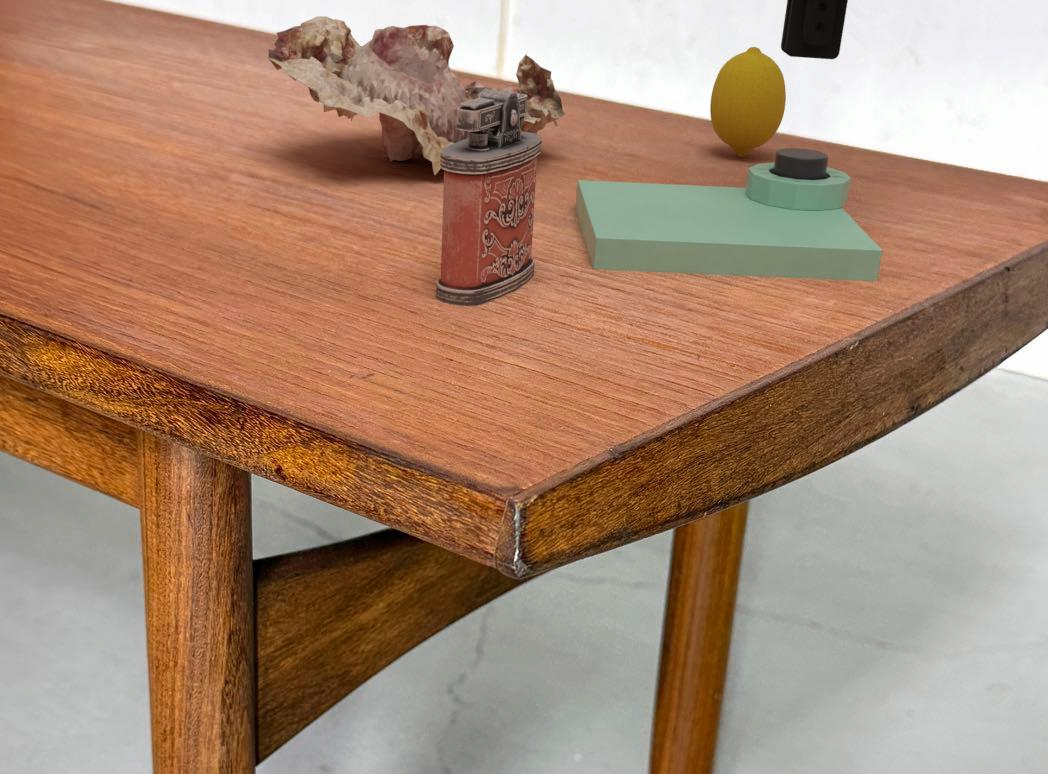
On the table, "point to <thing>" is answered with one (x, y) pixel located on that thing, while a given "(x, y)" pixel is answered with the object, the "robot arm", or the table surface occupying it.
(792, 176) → the power button
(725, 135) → the lemon
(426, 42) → the mineral formation
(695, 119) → the table surface
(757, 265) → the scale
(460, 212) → the lighter
